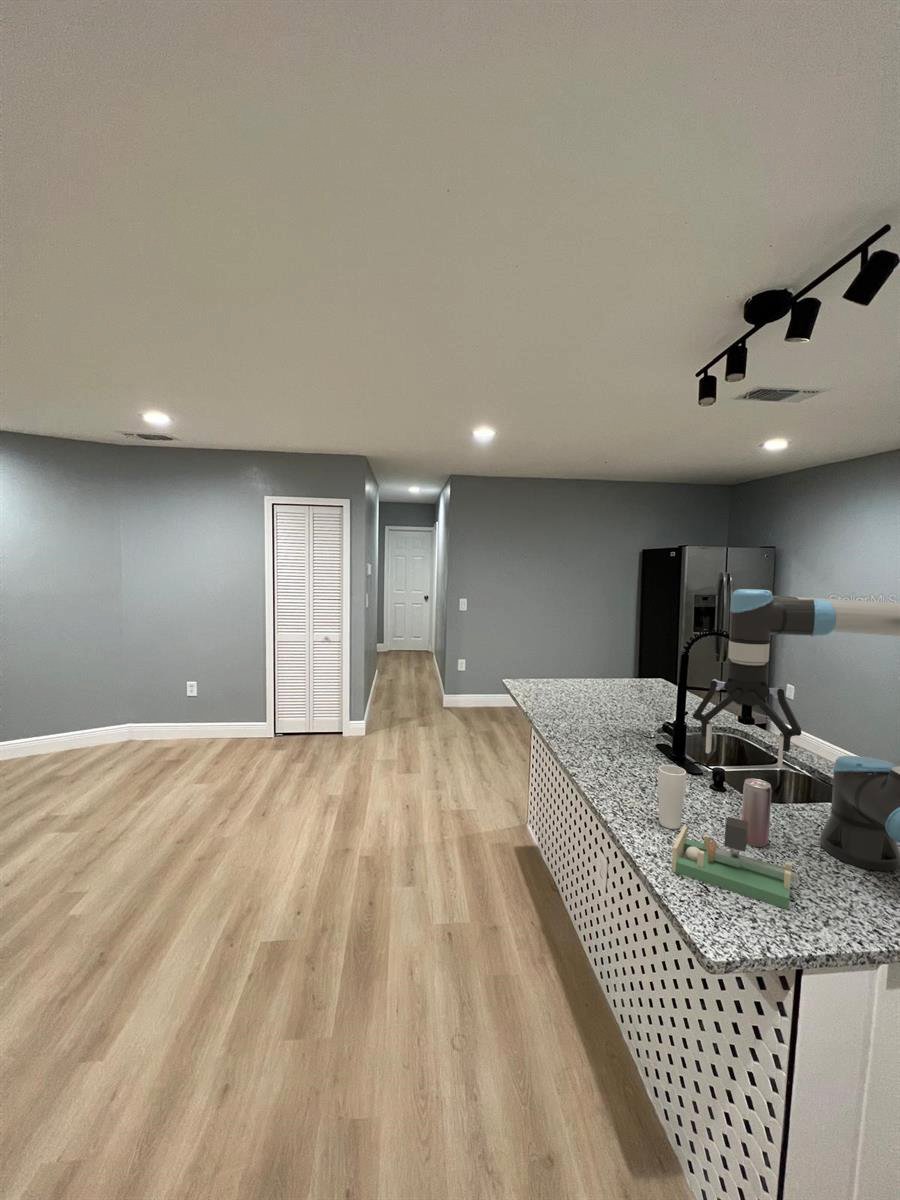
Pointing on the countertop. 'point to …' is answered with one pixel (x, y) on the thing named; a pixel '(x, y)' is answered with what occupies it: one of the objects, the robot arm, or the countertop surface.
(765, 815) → the beverage can
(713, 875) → the board
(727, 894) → the countertop surface
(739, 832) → the grey slider
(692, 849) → the ball
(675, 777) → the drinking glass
